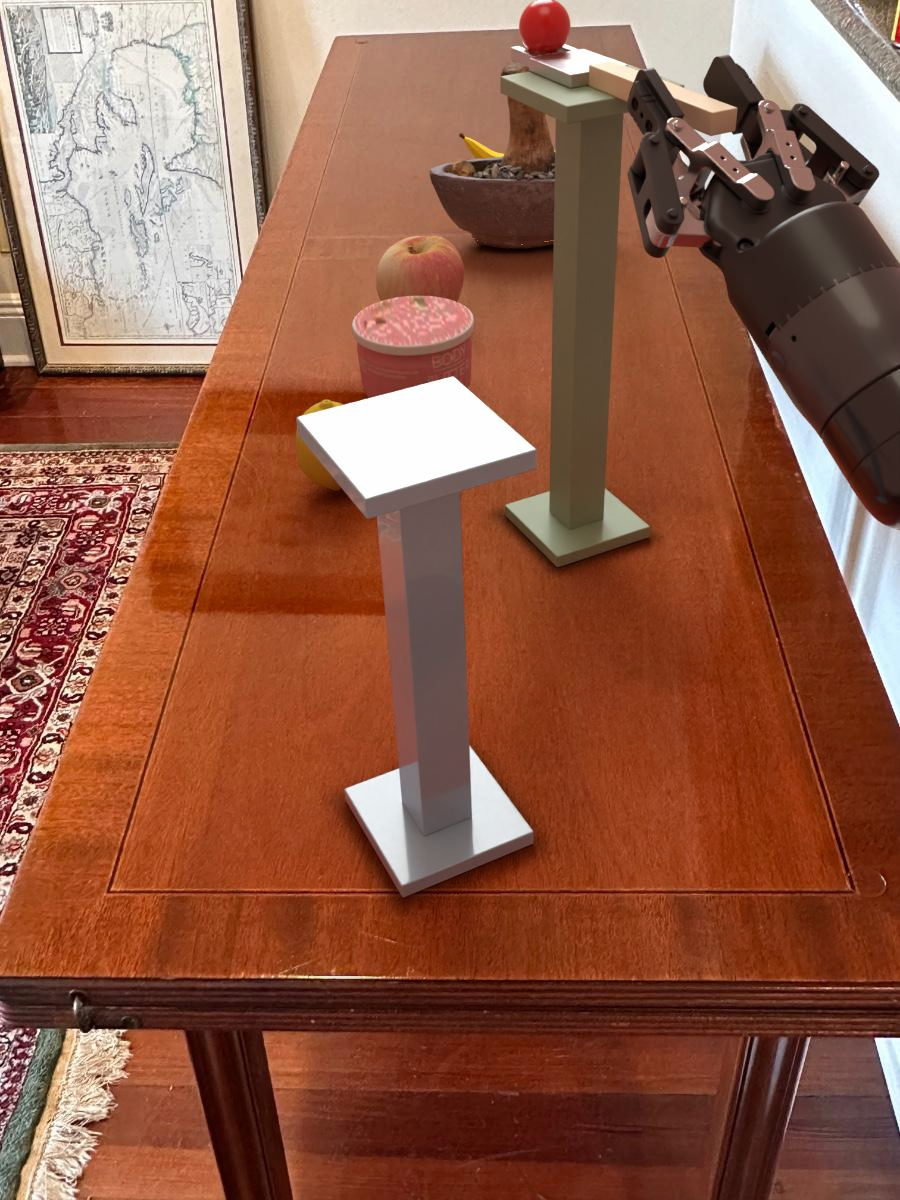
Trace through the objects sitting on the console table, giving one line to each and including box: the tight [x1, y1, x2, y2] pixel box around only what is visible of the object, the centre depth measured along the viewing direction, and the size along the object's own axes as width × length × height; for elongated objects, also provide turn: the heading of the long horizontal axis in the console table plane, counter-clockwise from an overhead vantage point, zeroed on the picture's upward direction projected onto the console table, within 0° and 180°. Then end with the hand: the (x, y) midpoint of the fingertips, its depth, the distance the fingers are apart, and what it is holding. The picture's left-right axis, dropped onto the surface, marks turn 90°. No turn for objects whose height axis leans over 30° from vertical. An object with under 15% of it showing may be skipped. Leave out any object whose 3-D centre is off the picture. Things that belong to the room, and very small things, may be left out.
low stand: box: [296, 377, 538, 898], centre depth 60 cm, size 8×8×25 cm
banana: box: [458, 132, 555, 159], centre depth 153 cm, size 3×19×6 cm, turn 95°
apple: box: [375, 235, 465, 302], centre depth 119 cm, size 9×9×8 cm
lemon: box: [294, 399, 344, 492], centre depth 94 cm, size 6×6×8 cm
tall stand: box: [499, 57, 685, 568], centre depth 81 cm, size 8×8×32 cm
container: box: [351, 296, 475, 399], centre depth 105 cm, size 10×10×8 cm
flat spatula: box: [510, 0, 737, 137], centre depth 68 cm, size 20×4×4 cm, turn 26°
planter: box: [429, 60, 555, 250], centre depth 131 cm, size 15×17×20 cm
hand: (677, 76), depth 64 cm, fingers open, 4 cm apart
